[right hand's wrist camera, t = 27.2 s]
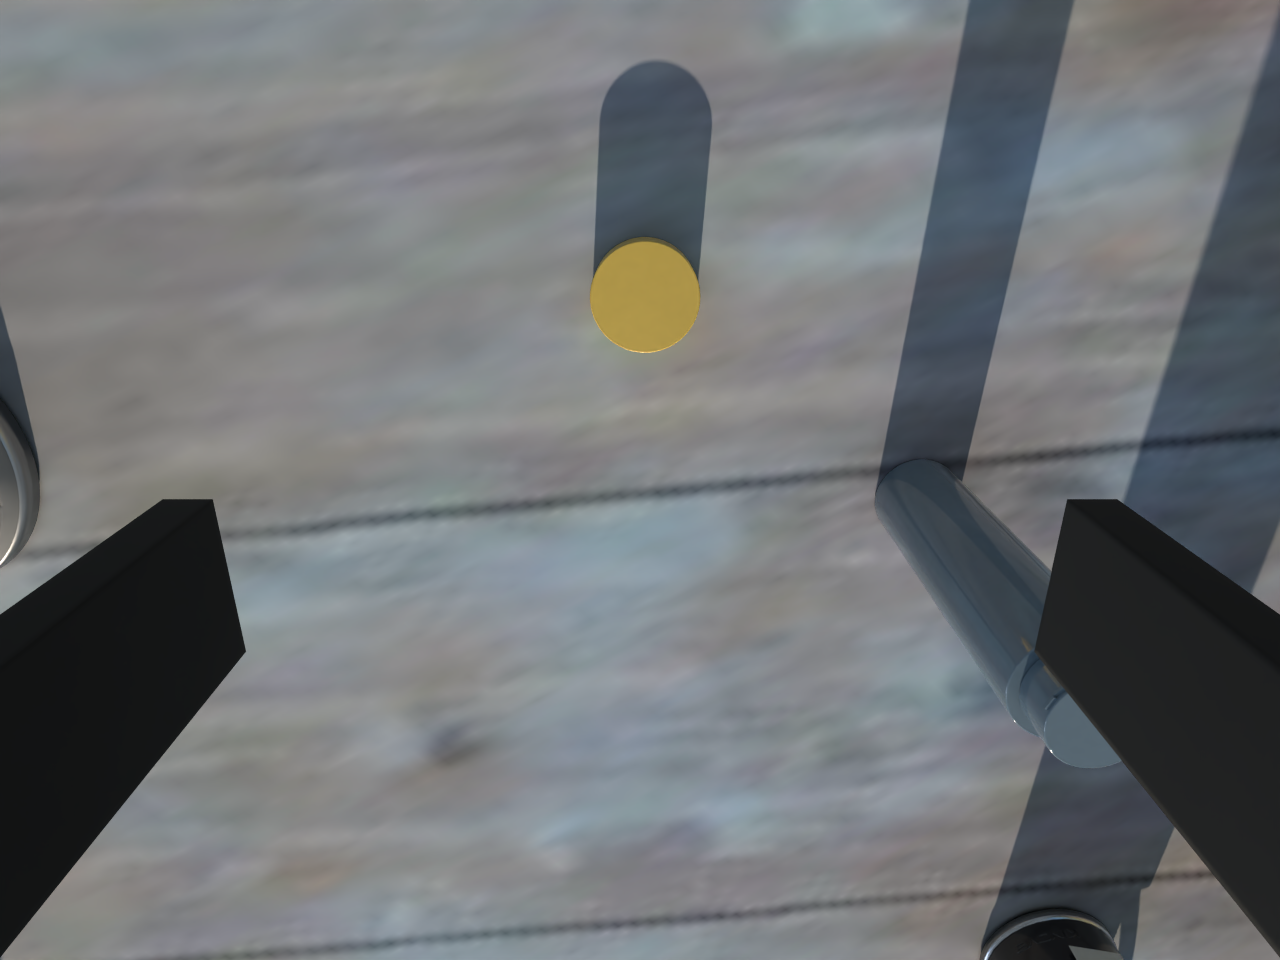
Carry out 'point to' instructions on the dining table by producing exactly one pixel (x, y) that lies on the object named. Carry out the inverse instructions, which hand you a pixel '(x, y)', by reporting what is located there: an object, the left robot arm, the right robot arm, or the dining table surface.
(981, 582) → the bottle
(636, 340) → the lid
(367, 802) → the dining table surface
